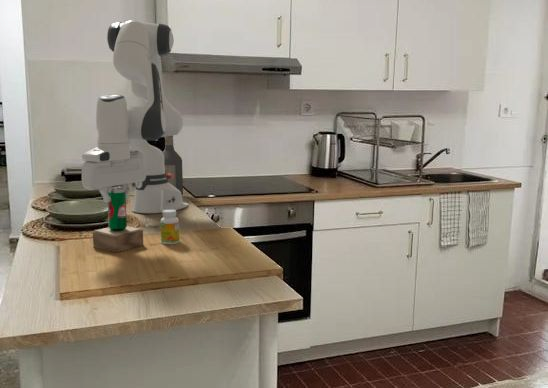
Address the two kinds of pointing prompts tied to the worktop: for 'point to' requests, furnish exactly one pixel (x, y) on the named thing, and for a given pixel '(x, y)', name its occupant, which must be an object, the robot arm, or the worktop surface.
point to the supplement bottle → (169, 227)
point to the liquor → (173, 164)
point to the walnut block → (117, 239)
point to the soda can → (117, 209)
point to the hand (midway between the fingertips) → (116, 200)
